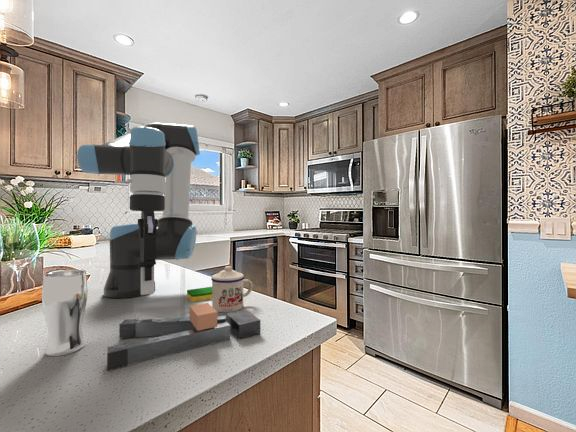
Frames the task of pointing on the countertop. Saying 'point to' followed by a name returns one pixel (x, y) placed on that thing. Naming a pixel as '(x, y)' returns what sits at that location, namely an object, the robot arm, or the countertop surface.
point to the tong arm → (157, 326)
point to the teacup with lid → (228, 290)
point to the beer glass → (64, 310)
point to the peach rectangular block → (203, 316)
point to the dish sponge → (199, 294)
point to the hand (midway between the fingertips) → (147, 293)
